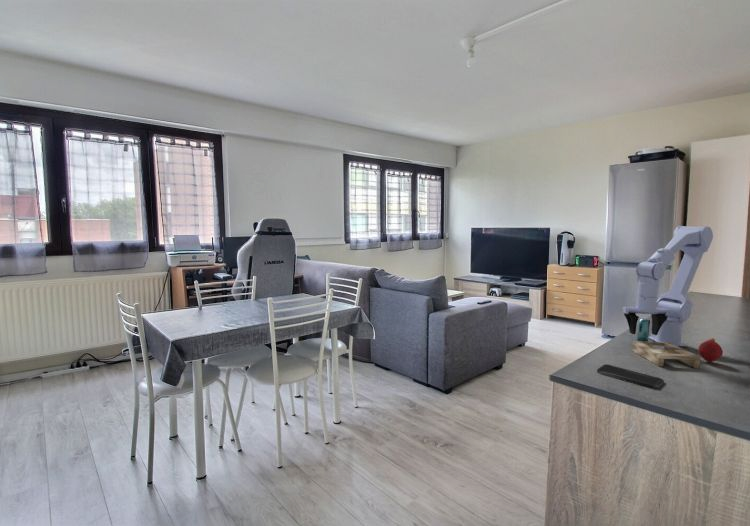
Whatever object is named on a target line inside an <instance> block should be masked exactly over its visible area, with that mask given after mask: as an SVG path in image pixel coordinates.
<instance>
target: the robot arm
mask: <svg viewBox="0 0 750 526" xmlns="http://www.w3.org/2000/svg"><path fill="white" fill-rule="evenodd" d="M713 239H714V234H713V230H712V228H711V227H710V226H693V225H692V226H691V225H690V226H688V225H687V226H686V225H685V226H683V225H678V226H677V227H676V228H675V230H673V236H672V238H671V240H670V241H669V242H668V243H667V244H666V245H665V247H664V248H662V247H661V248H658V249H657V250H656V251H655V252H654V253H653V254H652V255H651V256H650V257H648V259H647V260H646V261H642V262H640V263H638V265H637V266H636V269H635V275H636V281H637V282H638V286H637V294H636V295H637V297H636V306H623V307H622V313H623V314H624V317H625V319H626V322H627V325H628V330H629V333H630V334H632V335H636V334H637V333H636V331H637V325H638V322H639V319H640V316H639V315H640V314H641V315H643V314H644V315H650V316H651V331H650V336H649V337H648V339H650V340H652V341H653V342H669V343H671V344H674V345H676V346H678V347H688V346H687V344H685V343H683V342H682V336H683V325H684V322H686V321H687V320H689V319H690V317H691V313H692V307H693V303H692V301H691V300H690V299H689V298H688V292H689V290H690V287H691V285H692V283H693V281H694V278H695V276H696V273H697V270H698V268H699V265H700V263H701V261H702V259H703V255H704V254H705V253H707V252H708V251H709V248H710V246H711V244H712V241H713ZM679 251H682V252H683V253H684V254H683V257H682V259H681V262H680V264H679V267H678V269H677V272H676V274H675V276H674V279H673V281H672V284H671V286H670V288H669V290H668V291H667V292H665V293H663V294H662V293H661V294H660V295H659V296H658V293H659V285H660V279H663V277H664V275H665V272H666V271H667V267H668V266H669V265H670V264H671V263H672V262H673V261H674V260H675V255H676V254H677V253H678V252H679ZM637 314H639V315H637Z"/></svg>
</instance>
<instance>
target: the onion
mask: <svg viewBox="0 0 750 526" xmlns="http://www.w3.org/2000/svg"><path fill="white" fill-rule="evenodd" d="M697 350H698V354H699V357H700V358H702V359H703V360H705V361H706V362H707V363H713V362H715V361H718V360H720V359H721V357H723V352H724V351H723V349H722V346H721V345H720V344H719V343H717V341H716V339H715V338H714V337H711V338H709V339H708V340H705V341H704V342H702V343H700V345H699V346H698V349H697Z"/></svg>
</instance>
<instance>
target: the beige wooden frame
mask: <svg viewBox="0 0 750 526" xmlns="http://www.w3.org/2000/svg"><path fill="white" fill-rule="evenodd" d="M632 341H633V340H632ZM648 345H653V346H659V347H660V346H661V347H662V346H663V350H662V349H661V348H660V349H659V348H658V349H657V348H653V347H650V346H648ZM633 351H634V352H633ZM631 352H633V353H635V354H636V353H637V355H638V354H639V355H638V356H640V355H641V356H640V357H642V358H643V357H644V358H643V359H645V358H646V359H645V360H647V359H648V360H649V361H648V360H647V361H648V362H650V361H651V362H650V363H652V362H653V363H652V364H654V365H655V364H656V365H655V366H657V365H658V366H657V367H664V363H665V360H667V359H669V360H678V361H680V362H682V363H683V364H686V365H688V366H689V367H691V366H692V368H693V367H694V369H700V364H701V356H700V355H698V354H695V353H692V352H691V351H688V350H686V349H684V348H682V347H681V346H676V345H674V344H671V343H669V342H656V341H648V342H645V341H633V343H632V342H631Z"/></svg>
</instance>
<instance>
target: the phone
mask: <svg viewBox="0 0 750 526" xmlns="http://www.w3.org/2000/svg"><path fill="white" fill-rule="evenodd" d="M596 373H598V374H600V373H602V374H601V375H603V374H605V375H604V376H607V375H609V376H608V377H610V376H612V377H611V378H614V377H615V378H614V379H617V378H619V379H618V380H621V379H622V380H621V381H624V380H626V381H625V382H628V381H630V382H629V383H631V382H633V383H632V384H635V383H636V384H635V385H638V384H639V386H642V385H643V386H642V387H645V386H646V388H649V387H650V389H652V388H653V390H658V388H659V387H660V386H661V385H662V386H663V384H665V380H664V378H660V377H656V376H654V375H649V374H646V373H641V372H638V371H633V370H630V369H625V368H623V367H618V366H615V365H611V364H603V365H602V366H600V367H598V368H597V369H596ZM662 386H661V387H662ZM661 387H660V388H661ZM660 388H659V389H660Z"/></svg>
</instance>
